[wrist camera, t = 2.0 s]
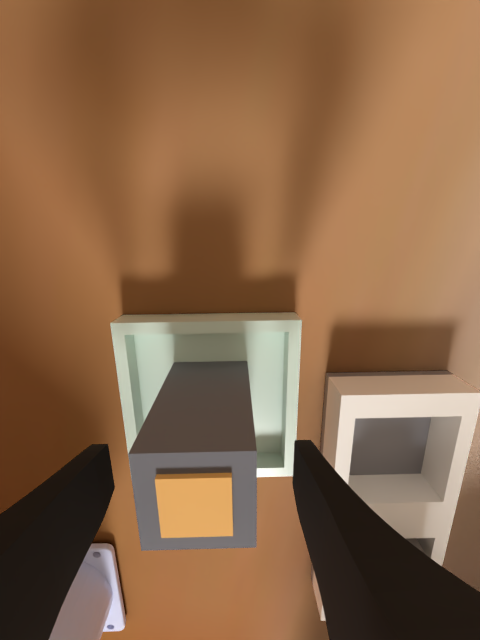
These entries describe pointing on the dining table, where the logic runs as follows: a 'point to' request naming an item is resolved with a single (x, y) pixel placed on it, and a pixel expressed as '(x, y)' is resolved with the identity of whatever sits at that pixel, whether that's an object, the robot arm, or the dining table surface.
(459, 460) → the strip
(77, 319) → the dining table surface
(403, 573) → the robot arm
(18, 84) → the dining table surface
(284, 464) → the tray
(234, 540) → the plug
